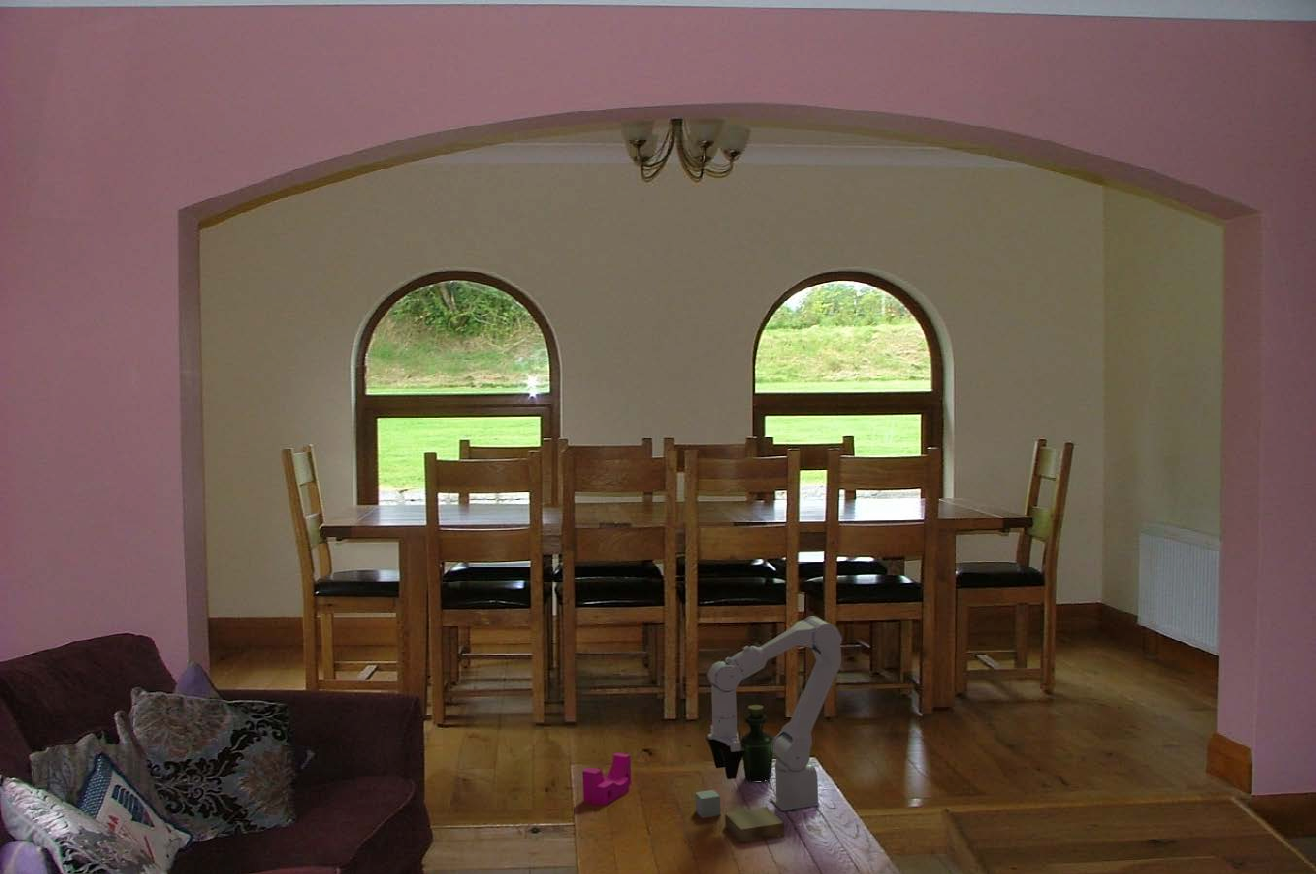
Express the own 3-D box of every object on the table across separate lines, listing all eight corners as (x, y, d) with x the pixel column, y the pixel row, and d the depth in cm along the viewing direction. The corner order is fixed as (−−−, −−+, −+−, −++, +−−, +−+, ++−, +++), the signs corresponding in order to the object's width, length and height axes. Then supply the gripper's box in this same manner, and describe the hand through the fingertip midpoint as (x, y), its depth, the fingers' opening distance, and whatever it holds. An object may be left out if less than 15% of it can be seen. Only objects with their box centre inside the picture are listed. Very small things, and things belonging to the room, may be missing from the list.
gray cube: (714, 808, 283) (713, 789, 282) (720, 815, 278) (720, 796, 278) (695, 811, 281) (695, 792, 281) (702, 818, 277) (701, 799, 277)
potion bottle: (778, 782, 298) (776, 710, 297) (746, 785, 297) (744, 713, 296) (769, 771, 306) (767, 701, 305) (737, 774, 305) (735, 704, 303)
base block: (767, 819, 274) (766, 807, 274) (784, 836, 265) (783, 822, 265) (725, 826, 271) (725, 813, 271) (741, 843, 262) (740, 829, 262)
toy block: (604, 806, 287) (603, 775, 286) (583, 801, 290) (582, 771, 290) (639, 785, 299) (638, 756, 299) (618, 781, 303) (617, 752, 302)
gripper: (697, 708, 284) (699, 765, 284) (718, 725, 270) (720, 785, 271) (725, 704, 286) (727, 761, 287) (748, 722, 272) (749, 781, 273)
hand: (725, 772), depth 279 cm, fingers open, 7 cm apart
